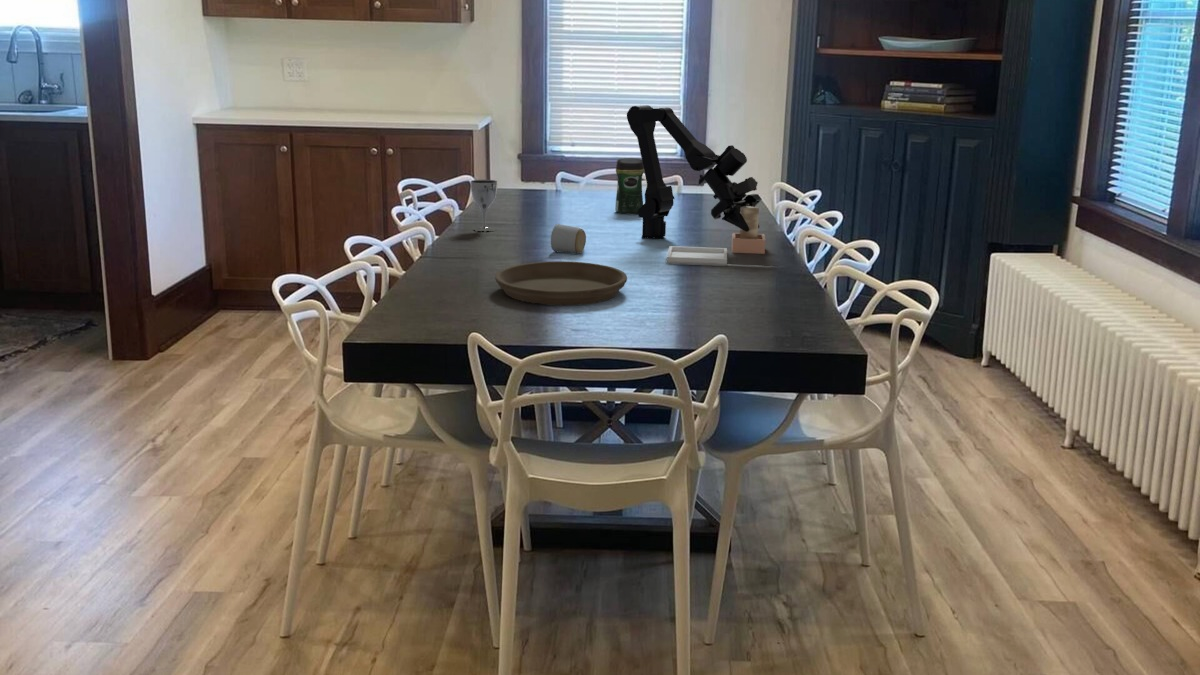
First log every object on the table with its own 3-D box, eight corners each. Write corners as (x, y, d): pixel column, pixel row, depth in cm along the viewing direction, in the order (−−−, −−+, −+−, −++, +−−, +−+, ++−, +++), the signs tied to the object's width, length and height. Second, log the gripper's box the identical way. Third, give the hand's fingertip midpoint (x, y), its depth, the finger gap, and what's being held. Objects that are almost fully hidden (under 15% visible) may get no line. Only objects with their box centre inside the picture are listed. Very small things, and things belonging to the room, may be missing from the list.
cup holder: (731, 254, 309) (732, 238, 308) (731, 248, 318) (732, 233, 317) (764, 255, 308) (765, 239, 307) (763, 249, 317) (764, 234, 316)
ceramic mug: (577, 256, 303) (577, 228, 301) (549, 253, 306) (550, 225, 304) (591, 250, 313) (592, 223, 311) (564, 247, 316) (565, 221, 314)
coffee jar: (641, 210, 383) (643, 156, 378) (644, 214, 375) (645, 159, 370) (613, 210, 382) (614, 156, 377) (615, 214, 374) (617, 159, 369)
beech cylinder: (739, 251, 311) (741, 208, 308) (738, 248, 316) (741, 206, 312) (757, 251, 310) (759, 209, 307) (756, 248, 315) (758, 206, 312)
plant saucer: (580, 315, 240) (580, 295, 239) (468, 296, 256) (467, 277, 255) (650, 289, 266) (651, 271, 265) (544, 273, 282) (544, 256, 280)
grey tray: (666, 263, 295) (666, 257, 295) (669, 252, 310) (669, 246, 310) (726, 266, 294) (727, 259, 293) (726, 254, 309) (726, 248, 308)
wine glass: (466, 231, 338) (466, 181, 334) (479, 227, 345) (478, 179, 341) (489, 233, 335) (489, 183, 331) (501, 229, 342) (501, 180, 338)
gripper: (722, 170, 302) (754, 215, 299) (757, 165, 316) (789, 208, 313) (696, 196, 309) (728, 240, 305) (732, 190, 323) (763, 232, 319)
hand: (753, 229), depth 311 cm, fingers closed on beech cylinder, 5 cm apart
